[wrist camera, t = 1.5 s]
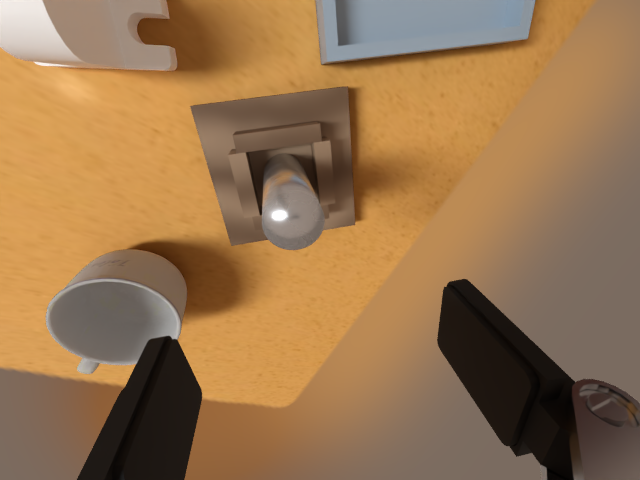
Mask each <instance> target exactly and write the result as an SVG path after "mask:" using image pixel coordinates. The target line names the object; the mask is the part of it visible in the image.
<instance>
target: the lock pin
mask: <svg viewBox="0 0 640 480" xmlns="http://www.w3.org/2000/svg"><path fill="white" fill-rule="evenodd" d="M324 223H325V217H324V213H323V210H322V208H321V206H320V203H319V201H318V199H317V197H316V195H315V192H314V190H313V188H312V186H311V184H310V181H309V179H308V177H307V175H306V172H305V170H304V168H303V166H302V164H301V162H300V161H299V160H298V159H297V158H296V157H295V156H293V155H290V154H286V153H281V154H277V155H274V156H273V157H271V158H270V159H269V160H268V161H267V163H266V165H265V168H264V180H263V204H262V228H263V231H264V234H265V235H266V237H267V238H268V240H269V241H270V242H272V243H273V244H274V245H276V246H278V247H280V248H283V249H287V250H298V249H302V248H305V247H307V246H309V245H311V244H312V243H314V242H315V241H316V240H317V239H318V238H319V236H320V235H321V233H322V231H323V228H324Z"/></svg>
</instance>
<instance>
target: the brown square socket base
mask: <svg viewBox="0 0 640 480" xmlns="http://www.w3.org/2000/svg"><path fill="white" fill-rule="evenodd" d="M190 107H191V111H192V114H193V117H194V121H195V124H196V128H197V131H198V134H199V138H200V141H201V145H202V148H203V151H204V155H205V158H206V161H207V165H208V168H209V172H210V175H211V178H212V182H213V185H214V189H215V192H216V195H217V199H218V202H219V205H220V209H221V212H222V216H223V219H224V222H225V226H226V229H227V233H228V236H229V239H230V243H231V246H234V245H239V244H245V243H251V242H257V241H263V240H268V238H267V237H266V235H265V234H264V231H263V228H262V204H263V180H264V168H265V165H266V163H267V161H268V160H269V159H270V158H271V157H273V156H274V155H277V154H281V153H286V154H290V155H293V156H295V157H296V158H297V159H298V160H299V161H300V162H301V164H302V166H303V168H304V170H305V172H306V175H307V177H308V179H309V181H310V184H311V186H312V188H313V190H314V192H315V195H316V197H317V199H318V201H319V203H320V206H321V208H322V210H323V213H324V217H325V223H324V228H323V230H328V229H334V228H339V227H345V226H351V225H355V211H354V193H353V174H352V155H351V136H350V117H349V98H348V87H337V88H329V89H321V90H313V91H305V92H297V93H289V94H281V95H273V96H265V97H257V98H249V99H241V100H233V101H225V102H217V103H209V104H201V105H193V106H190Z"/></svg>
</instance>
